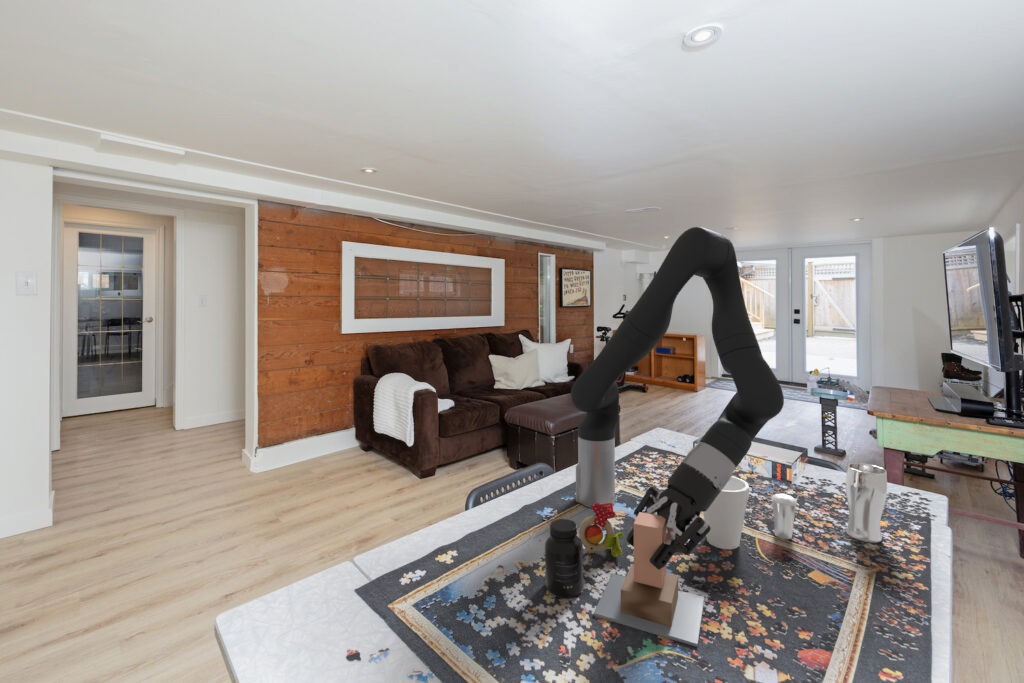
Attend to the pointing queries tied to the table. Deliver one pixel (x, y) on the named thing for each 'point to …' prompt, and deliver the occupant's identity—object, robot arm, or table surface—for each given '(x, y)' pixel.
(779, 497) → the milkshake
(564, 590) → the supplement bottle
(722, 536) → the foam cup
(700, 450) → the robot arm
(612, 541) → the bird rattle
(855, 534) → the beer glass
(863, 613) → the table surface
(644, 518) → the tall block
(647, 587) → the base slab
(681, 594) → the building mat
